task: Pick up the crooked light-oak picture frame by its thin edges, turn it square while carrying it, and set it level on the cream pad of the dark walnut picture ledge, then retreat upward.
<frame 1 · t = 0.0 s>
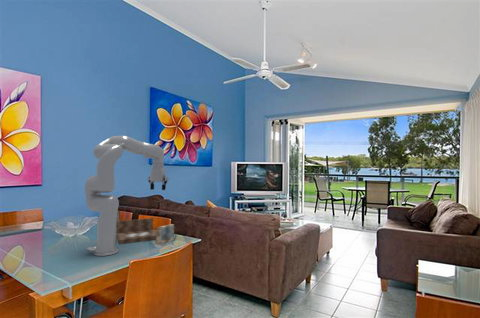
hand: (157, 189, 191), 31 cm above the table, tool pointing down, fingers open, 9 cm apart
coffee box: (111, 234, 189), on the table
walnut ledge: (137, 238, 179), on the table
picture frame: (165, 241, 170), on the table
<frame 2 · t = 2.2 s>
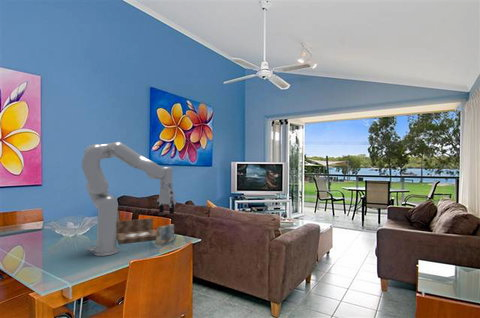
hand: (166, 213, 171), 18 cm above the table, tool pointing down, fingers open, 9 cm apart
nothing on the table moved.
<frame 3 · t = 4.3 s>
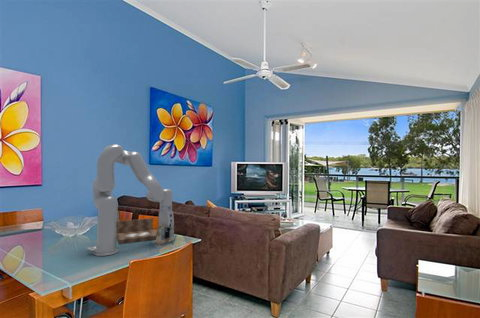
hand: (165, 237, 170), 3 cm above the table, tool pointing down, fingers closed on picture frame, 2 cm apart
picture frame: (165, 241, 170), on the table, touching gripper
everything else where it was.
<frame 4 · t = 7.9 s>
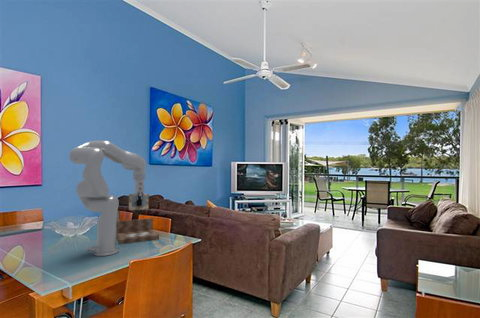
hand: (138, 205, 178), 22 cm above the table, tool pointing down, fingers closed on picture frame, 2 cm apart
picture frame: (138, 209, 178), point 19 cm above the table, touching gripper
everything else where it was.
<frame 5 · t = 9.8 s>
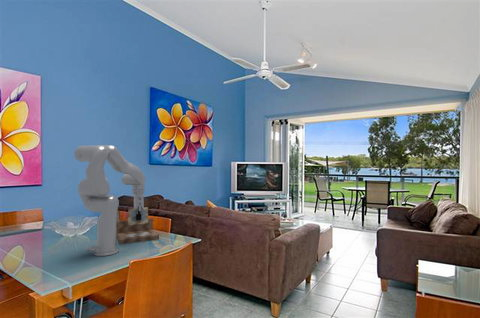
hand: (138, 219, 178), 13 cm above the table, tool pointing down, fingers closed on picture frame, 2 cm apart
picture frame: (138, 223, 178), point 10 cm above the table, touching gripper
everything else where it was.
when the fingers open (6 cm above the table, at t = 11.6 s): picture frame stays where it is, resting on walnut ledge.
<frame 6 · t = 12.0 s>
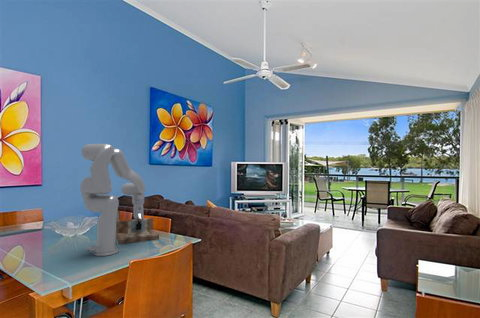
hand: (137, 228, 177), 7 cm above the table, tool pointing down, fingers open, 6 cm apart
picture frame: (137, 234, 177), point 3 cm above the table, touching walnut ledge
everything else where it was.
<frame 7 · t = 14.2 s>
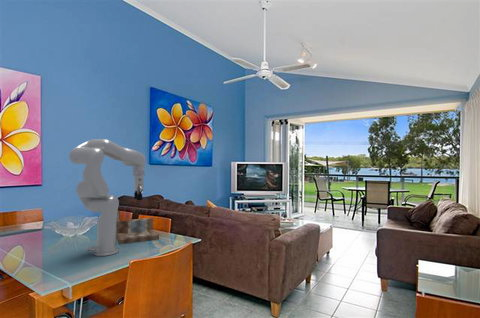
hand: (138, 199, 178), 26 cm above the table, tool pointing down, fingers open, 9 cm apart
nothing on the table moved.
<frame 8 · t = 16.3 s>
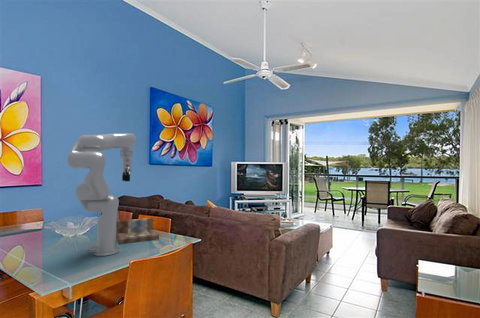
hand: (126, 180, 173), 38 cm above the table, tool pointing down, fingers open, 9 cm apart
nothing on the table moved.
at the end: picture frame inside the target area on the walnut ledge (0.1 cm from its centre), point 2.7 cm above the walnut ledge's base; picture frame tilted 0°; the gripper is holding nothing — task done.
